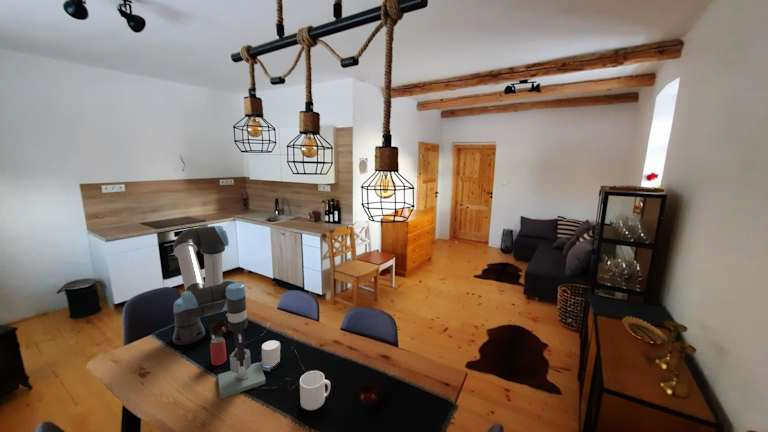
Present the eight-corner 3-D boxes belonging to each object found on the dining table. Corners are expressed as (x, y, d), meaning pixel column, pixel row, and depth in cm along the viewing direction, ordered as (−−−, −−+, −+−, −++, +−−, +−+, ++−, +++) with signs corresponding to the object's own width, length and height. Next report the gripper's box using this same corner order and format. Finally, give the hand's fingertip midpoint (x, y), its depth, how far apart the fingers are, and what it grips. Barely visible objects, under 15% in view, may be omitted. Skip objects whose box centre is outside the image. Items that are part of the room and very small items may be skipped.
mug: (296, 409, 121) (295, 386, 119) (305, 390, 131) (304, 369, 129) (327, 412, 120) (326, 389, 118) (333, 393, 130) (333, 372, 128)
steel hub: (230, 364, 136) (229, 352, 135) (249, 358, 140) (248, 347, 139) (231, 375, 129) (230, 362, 128) (251, 368, 133) (251, 356, 132)
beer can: (220, 367, 145) (218, 344, 143) (208, 365, 146) (206, 342, 144) (229, 358, 151) (227, 336, 149) (218, 356, 153) (216, 335, 150)
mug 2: (271, 352, 142) (257, 349, 144) (272, 369, 144) (258, 366, 146) (285, 338, 154) (271, 335, 156) (286, 354, 155) (272, 352, 157)
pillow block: (218, 378, 137) (216, 360, 136) (260, 365, 147) (259, 348, 145) (220, 399, 126) (218, 379, 124) (265, 383, 135) (264, 365, 133)
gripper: (225, 311, 138) (229, 355, 141) (230, 332, 120) (233, 383, 124) (243, 307, 141) (246, 351, 145) (250, 327, 124) (253, 377, 128)
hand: (240, 365), depth 135 cm, fingers closed on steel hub, 8 cm apart
